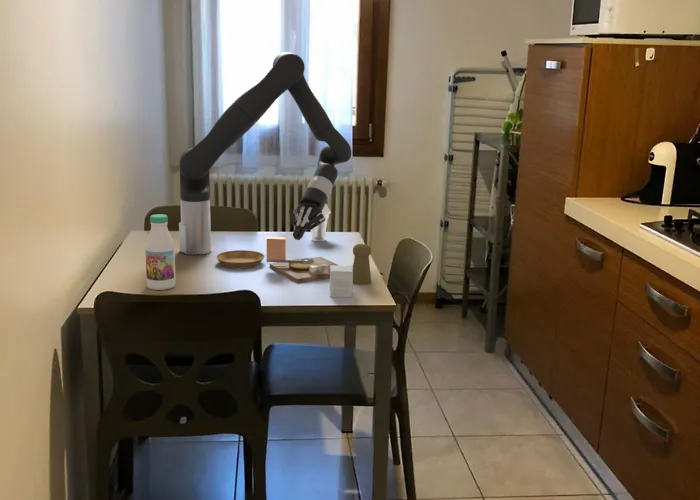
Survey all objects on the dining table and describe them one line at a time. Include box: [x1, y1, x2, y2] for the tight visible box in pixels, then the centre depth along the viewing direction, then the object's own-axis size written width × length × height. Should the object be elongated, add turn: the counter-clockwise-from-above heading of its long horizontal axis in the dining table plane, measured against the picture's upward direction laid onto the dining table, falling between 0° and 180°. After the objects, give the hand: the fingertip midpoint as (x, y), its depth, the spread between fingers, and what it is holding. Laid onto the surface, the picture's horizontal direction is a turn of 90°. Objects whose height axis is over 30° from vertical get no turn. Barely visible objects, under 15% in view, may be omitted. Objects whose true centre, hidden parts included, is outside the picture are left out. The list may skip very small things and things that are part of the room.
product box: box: [329, 264, 354, 298], centre depth 209 cm, size 6×6×7 cm
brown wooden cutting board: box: [269, 256, 338, 284], centre depth 229 cm, size 18×18×4 cm
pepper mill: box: [352, 243, 372, 286], centre depth 220 cm, size 6×6×11 cm
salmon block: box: [266, 236, 315, 270], centre depth 228 cm, size 14×8×8 cm, turn 89°
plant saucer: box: [215, 249, 265, 269], centre depth 236 cm, size 15×15×3 cm
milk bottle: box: [145, 213, 177, 291], centre depth 209 cm, size 8×8×20 cm
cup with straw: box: [310, 203, 332, 242], centre depth 266 cm, size 8×9×20 cm
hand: (296, 238), depth 236 cm, fingers closed
